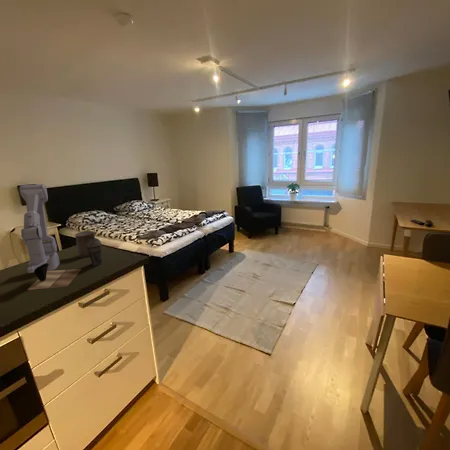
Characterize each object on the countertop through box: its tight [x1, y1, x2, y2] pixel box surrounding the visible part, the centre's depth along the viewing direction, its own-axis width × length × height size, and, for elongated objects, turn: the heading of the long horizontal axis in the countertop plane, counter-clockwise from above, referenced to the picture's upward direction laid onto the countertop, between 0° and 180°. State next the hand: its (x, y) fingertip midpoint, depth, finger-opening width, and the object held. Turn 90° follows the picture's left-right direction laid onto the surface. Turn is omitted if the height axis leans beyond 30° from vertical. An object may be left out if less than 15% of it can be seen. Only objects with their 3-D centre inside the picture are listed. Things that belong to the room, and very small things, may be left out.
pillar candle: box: [74, 230, 94, 259], centre depth 146 cm, size 10×10×15 cm
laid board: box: [49, 268, 82, 289], centre depth 118 cm, size 18×7×1 cm, turn 10°
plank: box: [26, 269, 67, 291], centre depth 117 cm, size 18×8×1 cm, turn 10°
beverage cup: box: [87, 229, 103, 267], centre depth 131 cm, size 7×7×20 cm
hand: (42, 279), depth 115 cm, fingers closed
